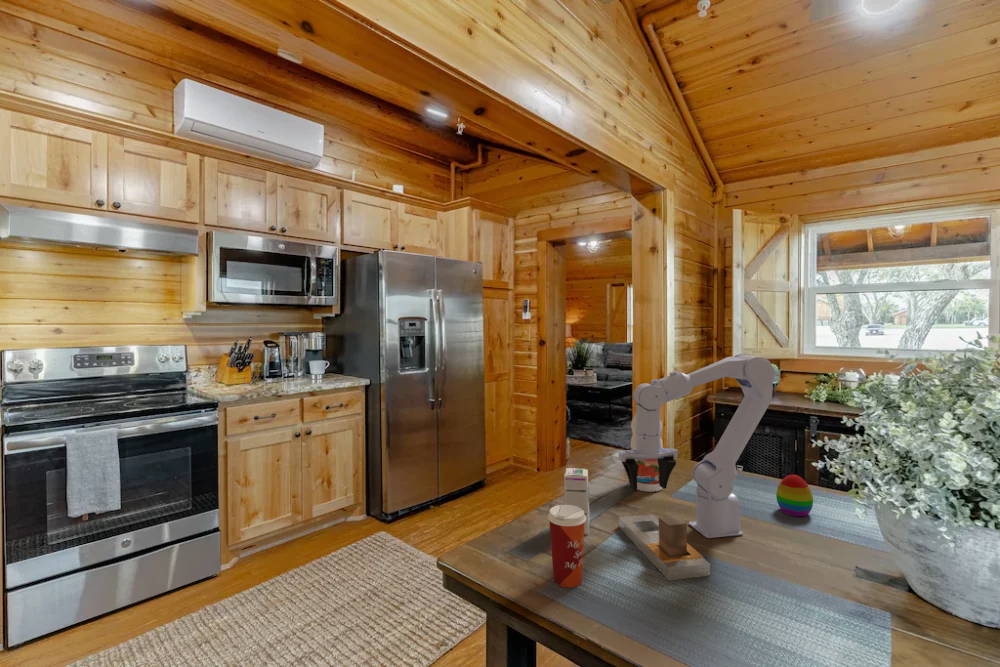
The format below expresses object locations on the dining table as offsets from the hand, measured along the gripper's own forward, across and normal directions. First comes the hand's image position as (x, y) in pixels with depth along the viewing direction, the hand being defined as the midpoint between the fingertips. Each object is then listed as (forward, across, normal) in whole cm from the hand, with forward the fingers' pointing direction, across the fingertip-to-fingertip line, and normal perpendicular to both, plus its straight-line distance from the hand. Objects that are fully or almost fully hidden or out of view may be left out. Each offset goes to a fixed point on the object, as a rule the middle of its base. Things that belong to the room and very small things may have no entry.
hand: (648, 488), depth 113 cm
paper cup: (+11, +26, +17) cm, 33 cm away
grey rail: (+10, +2, +9) cm, 14 cm away
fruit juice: (+11, -13, -27) cm, 32 cm away
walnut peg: (+10, +2, +15) cm, 18 cm away
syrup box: (+11, +17, -4) cm, 20 cm away
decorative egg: (+10, -42, -2) cm, 44 cm away
